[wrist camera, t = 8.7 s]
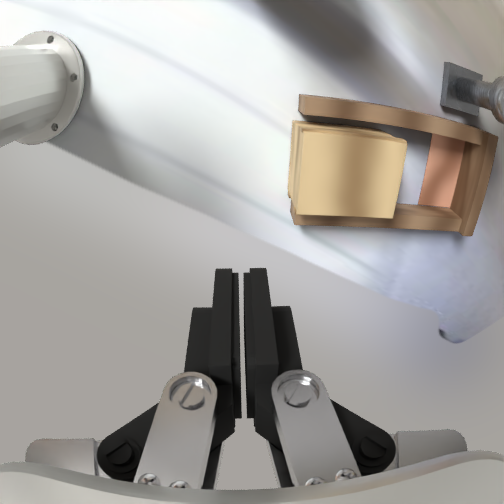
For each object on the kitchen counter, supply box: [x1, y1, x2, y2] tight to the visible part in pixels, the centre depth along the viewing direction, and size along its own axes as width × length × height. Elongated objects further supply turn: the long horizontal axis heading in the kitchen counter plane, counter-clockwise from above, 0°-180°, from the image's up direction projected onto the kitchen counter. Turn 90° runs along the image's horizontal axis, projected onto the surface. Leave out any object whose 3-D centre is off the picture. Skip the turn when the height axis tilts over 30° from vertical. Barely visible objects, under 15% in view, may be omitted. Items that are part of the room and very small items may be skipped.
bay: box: [290, 94, 498, 236], centre depth 29 cm, size 22×12×4 cm, turn 88°
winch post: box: [440, 62, 504, 124], centre depth 21 cm, size 5×5×10 cm
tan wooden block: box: [288, 121, 407, 219], centre depth 27 cm, size 9×7×6 cm
